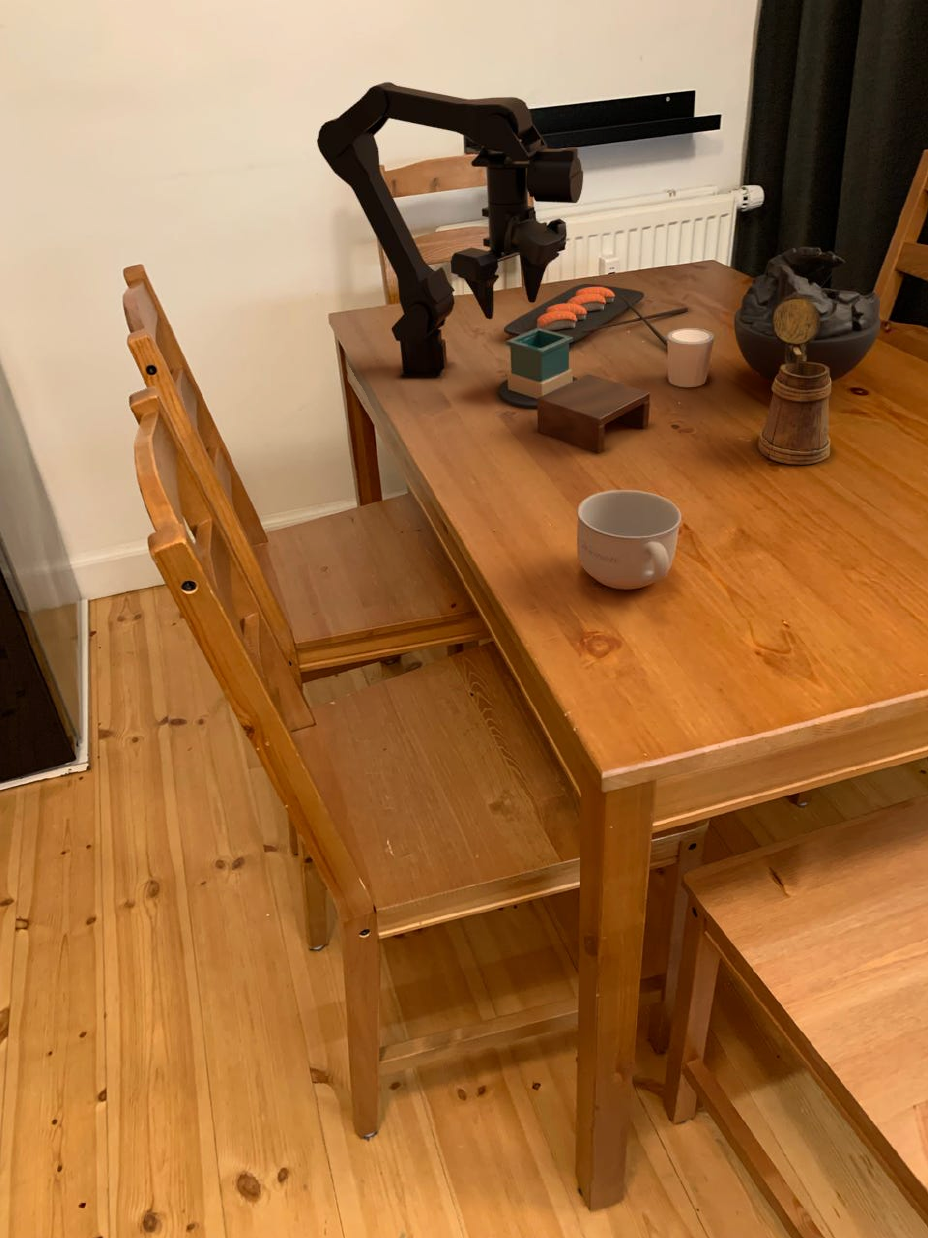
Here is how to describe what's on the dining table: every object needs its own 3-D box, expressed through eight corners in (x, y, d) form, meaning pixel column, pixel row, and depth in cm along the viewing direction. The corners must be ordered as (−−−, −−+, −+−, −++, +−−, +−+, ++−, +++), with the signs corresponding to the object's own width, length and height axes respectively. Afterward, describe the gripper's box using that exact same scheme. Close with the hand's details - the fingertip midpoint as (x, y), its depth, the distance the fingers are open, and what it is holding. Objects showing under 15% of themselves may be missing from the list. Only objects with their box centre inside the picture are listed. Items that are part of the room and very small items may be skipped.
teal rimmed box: (506, 340, 142) (541, 351, 138) (537, 327, 146) (573, 337, 142) (507, 389, 147) (542, 400, 142) (538, 375, 150) (572, 385, 146)
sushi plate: (581, 291, 184) (581, 271, 182) (729, 314, 169) (732, 292, 167) (496, 340, 165) (495, 318, 163) (655, 370, 150) (656, 347, 148)
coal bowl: (827, 352, 152) (848, 228, 141) (894, 400, 136) (923, 265, 125) (707, 367, 150) (718, 243, 139) (761, 418, 134) (779, 283, 123)
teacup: (568, 552, 109) (569, 490, 104) (662, 543, 110) (666, 481, 105) (592, 624, 98) (594, 558, 93) (696, 613, 98) (703, 547, 94)
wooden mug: (809, 419, 133) (830, 288, 123) (837, 463, 122) (863, 324, 112) (744, 422, 134) (760, 292, 123) (767, 467, 123) (786, 328, 112)
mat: (492, 408, 143) (492, 404, 142) (504, 374, 153) (504, 371, 153) (580, 409, 140) (580, 405, 140) (586, 375, 151) (586, 371, 150)
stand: (537, 431, 135) (537, 398, 132) (587, 406, 141) (588, 373, 138) (598, 453, 129) (599, 419, 126) (648, 425, 135) (650, 392, 132)
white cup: (710, 389, 143) (714, 343, 139) (663, 388, 145) (666, 343, 141) (709, 371, 149) (714, 327, 145) (665, 370, 150) (667, 326, 146)
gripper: (502, 222, 125) (505, 339, 135) (594, 193, 135) (592, 304, 144) (444, 211, 132) (451, 323, 141) (536, 184, 142) (537, 290, 151)
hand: (510, 310), depth 144 cm, fingers open, 9 cm apart
